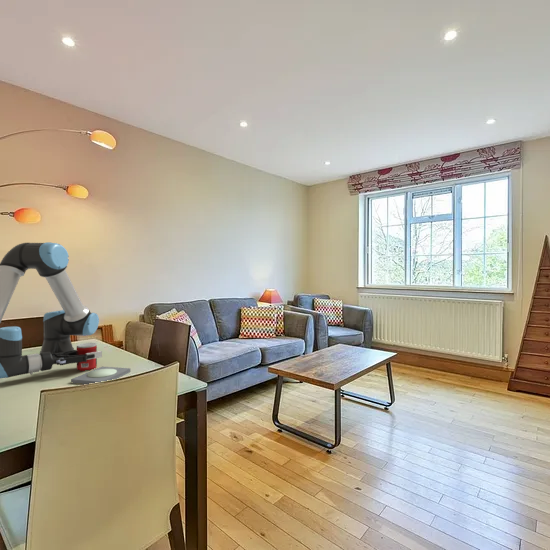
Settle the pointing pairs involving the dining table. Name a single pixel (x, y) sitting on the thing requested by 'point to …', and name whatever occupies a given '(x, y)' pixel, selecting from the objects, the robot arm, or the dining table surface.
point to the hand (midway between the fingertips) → (98, 352)
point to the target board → (101, 375)
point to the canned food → (85, 349)
